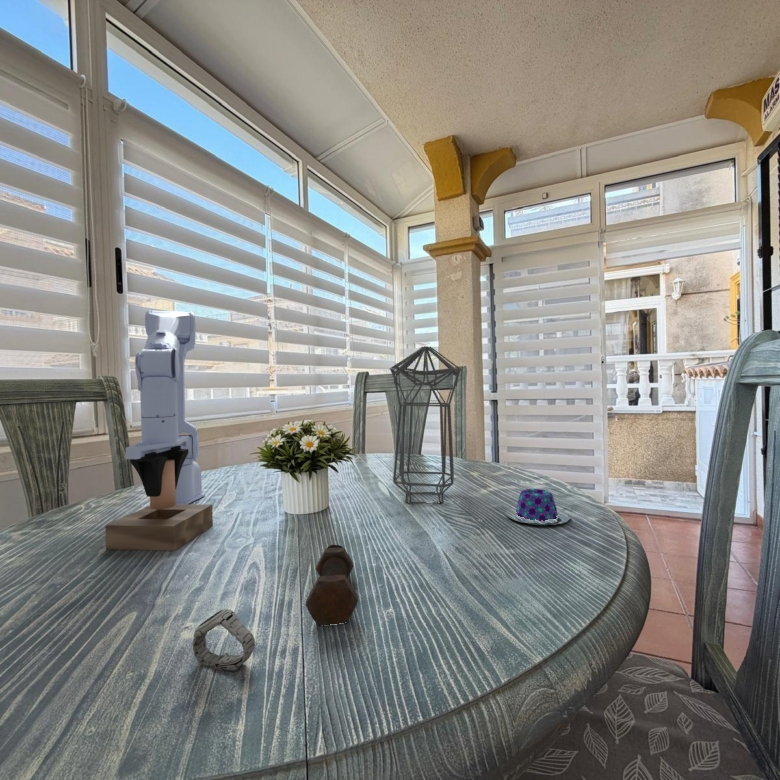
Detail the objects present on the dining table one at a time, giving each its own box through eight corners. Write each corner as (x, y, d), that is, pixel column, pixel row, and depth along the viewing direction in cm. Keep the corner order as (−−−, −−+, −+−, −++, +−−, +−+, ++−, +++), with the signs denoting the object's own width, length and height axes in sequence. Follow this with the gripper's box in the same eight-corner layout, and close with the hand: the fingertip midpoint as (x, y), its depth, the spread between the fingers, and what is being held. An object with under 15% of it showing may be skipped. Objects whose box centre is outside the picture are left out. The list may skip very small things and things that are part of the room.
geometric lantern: (395, 489, 104) (396, 349, 104) (459, 491, 102) (459, 349, 102) (386, 507, 88) (386, 342, 88) (461, 510, 86) (461, 342, 86)
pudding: (577, 531, 73) (576, 502, 73) (506, 528, 76) (506, 499, 76) (563, 510, 85) (562, 485, 85) (502, 508, 87) (502, 483, 87)
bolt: (341, 579, 61) (339, 638, 46) (310, 564, 60) (298, 618, 45) (360, 543, 61) (364, 590, 46) (330, 527, 61) (324, 570, 46)
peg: (168, 501, 77) (167, 458, 77) (180, 505, 74) (178, 460, 74) (146, 507, 74) (144, 462, 74) (156, 510, 71) (155, 464, 71)
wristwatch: (209, 648, 42) (207, 600, 42) (262, 659, 40) (260, 608, 40) (182, 672, 39) (181, 619, 39) (239, 684, 37) (237, 628, 37)
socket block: (154, 524, 81) (153, 504, 81) (212, 525, 80) (212, 504, 79) (106, 549, 69) (105, 525, 69) (174, 550, 68) (173, 526, 68)
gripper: (164, 413, 81) (166, 482, 82) (107, 420, 67) (109, 504, 67) (198, 413, 81) (200, 482, 81) (148, 419, 66) (150, 504, 67)
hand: (161, 492), depth 74 cm, fingers closed on peg, 4 cm apart
